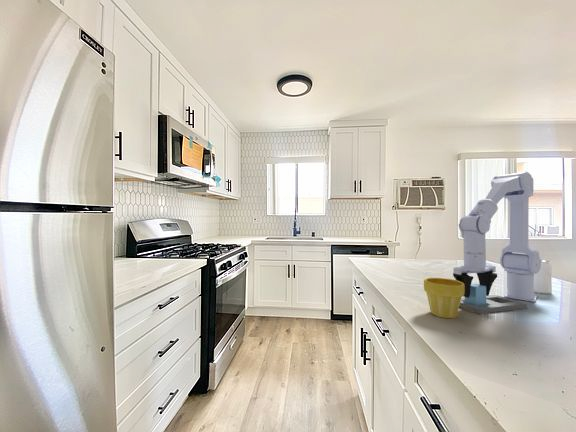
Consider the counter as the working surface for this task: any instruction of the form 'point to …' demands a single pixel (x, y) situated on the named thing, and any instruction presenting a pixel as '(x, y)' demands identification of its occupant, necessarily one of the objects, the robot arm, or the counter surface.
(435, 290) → the plant pot
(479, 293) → the plug
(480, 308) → the holder plate
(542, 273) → the can
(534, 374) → the counter surface
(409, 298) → the counter surface
